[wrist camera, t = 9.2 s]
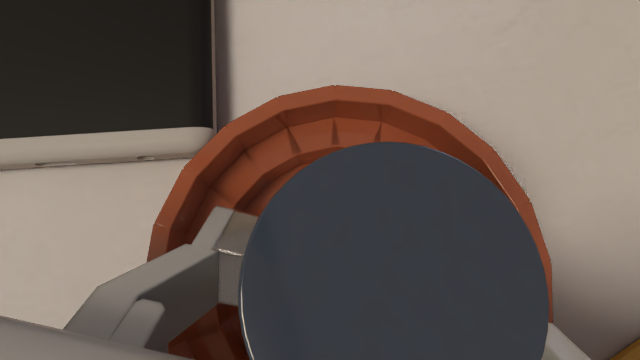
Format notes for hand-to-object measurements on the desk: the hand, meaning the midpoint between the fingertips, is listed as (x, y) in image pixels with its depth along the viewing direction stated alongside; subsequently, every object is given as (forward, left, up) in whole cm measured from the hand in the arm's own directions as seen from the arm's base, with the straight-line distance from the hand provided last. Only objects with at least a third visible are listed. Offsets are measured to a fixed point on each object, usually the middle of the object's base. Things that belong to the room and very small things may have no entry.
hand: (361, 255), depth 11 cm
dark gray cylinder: (0, 0, -6) cm, 6 cm away
